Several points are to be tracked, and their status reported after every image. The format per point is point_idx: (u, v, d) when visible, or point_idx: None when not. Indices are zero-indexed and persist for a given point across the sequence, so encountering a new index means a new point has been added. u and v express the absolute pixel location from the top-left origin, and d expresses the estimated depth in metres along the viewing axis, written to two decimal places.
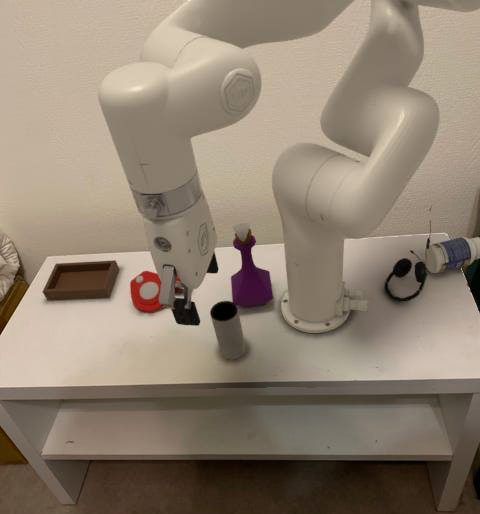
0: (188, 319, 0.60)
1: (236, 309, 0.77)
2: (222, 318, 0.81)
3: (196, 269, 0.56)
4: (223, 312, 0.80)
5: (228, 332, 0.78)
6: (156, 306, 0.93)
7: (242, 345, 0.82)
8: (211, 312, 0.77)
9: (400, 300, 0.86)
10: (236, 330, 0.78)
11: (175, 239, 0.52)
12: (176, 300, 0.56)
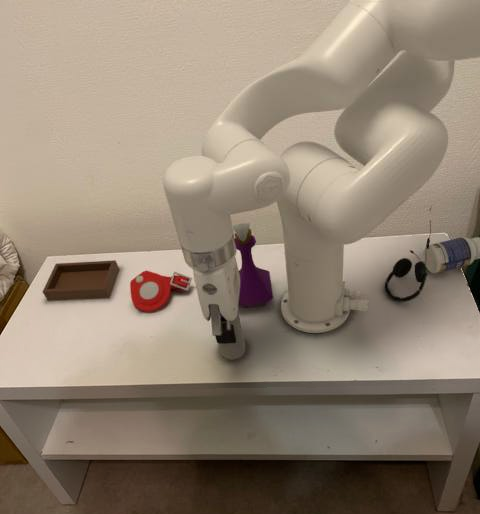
0: (228, 338, 0.77)
1: None
2: (222, 318, 0.81)
3: (233, 305, 0.70)
4: None
5: None
6: (156, 306, 0.93)
7: (242, 345, 0.82)
8: None
9: (400, 300, 0.86)
10: (236, 330, 0.78)
11: (220, 285, 0.66)
12: (223, 325, 0.73)
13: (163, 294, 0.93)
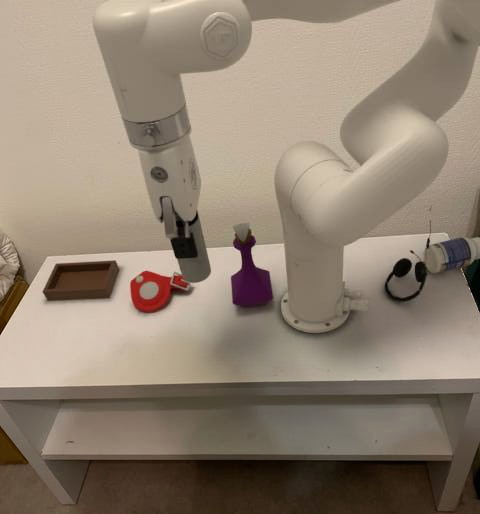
0: (188, 250, 0.65)
1: (196, 216, 0.66)
2: None
3: (190, 200, 0.59)
4: None
5: None
6: (156, 306, 0.93)
7: (206, 264, 0.71)
8: None
9: (400, 300, 0.86)
10: (197, 242, 0.67)
11: (171, 168, 0.55)
12: (179, 227, 0.61)
13: (163, 294, 0.93)
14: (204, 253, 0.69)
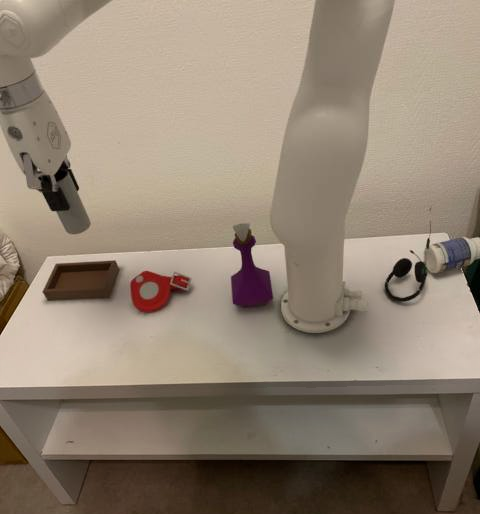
0: (58, 203, 0.77)
1: (66, 173, 0.77)
2: None
3: (48, 157, 0.70)
4: None
5: None
6: (156, 306, 0.93)
7: (82, 218, 0.82)
8: (42, 177, 0.77)
9: (400, 300, 0.86)
10: (69, 197, 0.78)
11: (24, 127, 0.66)
12: (43, 181, 0.72)
13: (163, 294, 0.93)
14: (78, 207, 0.81)
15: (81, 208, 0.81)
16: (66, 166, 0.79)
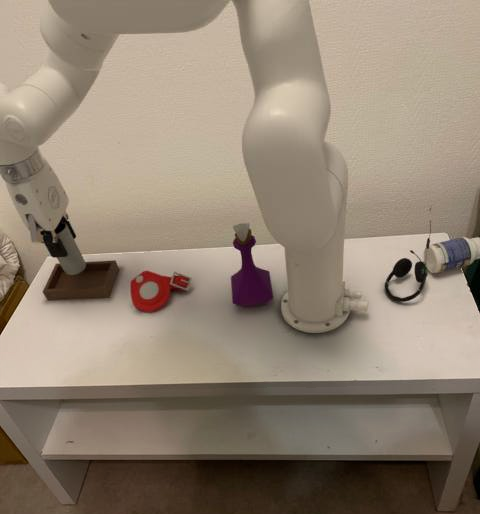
0: (57, 251, 0.90)
1: (64, 226, 0.91)
2: None
3: (49, 216, 0.84)
4: (59, 231, 0.94)
5: None
6: (156, 306, 0.93)
7: (79, 261, 0.96)
8: None
9: (400, 300, 0.86)
10: (67, 245, 0.92)
11: (28, 195, 0.80)
12: (44, 235, 0.86)
13: (163, 294, 0.93)
14: (75, 253, 0.94)
15: (77, 253, 0.95)
16: (65, 219, 0.92)
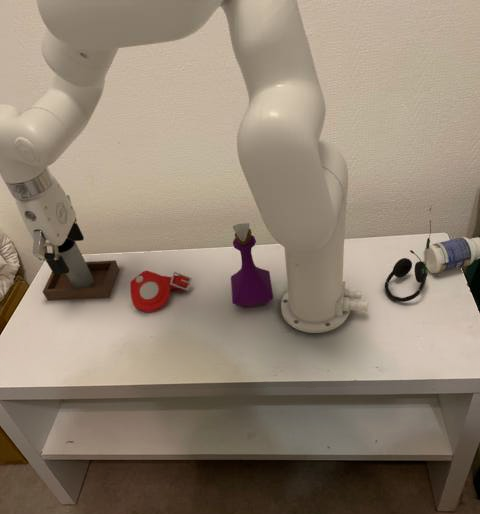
0: (59, 268, 0.91)
1: (73, 243, 0.94)
2: None
3: (57, 232, 0.86)
4: (68, 248, 0.97)
5: (68, 263, 0.94)
6: (156, 306, 0.93)
7: (87, 277, 0.99)
8: None
9: (400, 300, 0.86)
10: (76, 262, 0.95)
11: (37, 212, 0.82)
12: (46, 253, 0.86)
13: (163, 294, 0.93)
14: (83, 269, 0.97)
15: (85, 269, 0.98)
16: None
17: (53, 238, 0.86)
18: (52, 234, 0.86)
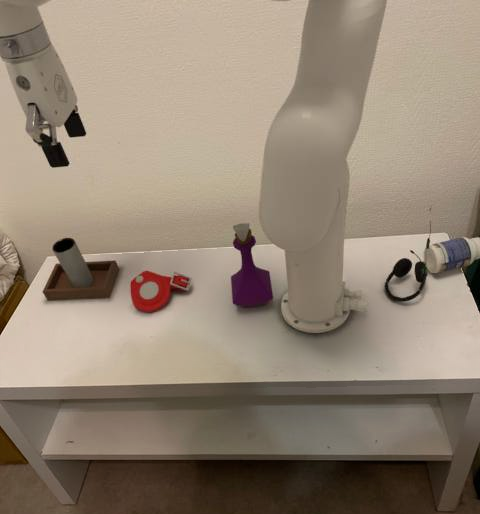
0: (57, 158, 0.77)
1: (73, 243, 0.94)
2: None
3: (55, 108, 0.73)
4: (68, 248, 0.97)
5: (68, 263, 0.94)
6: (156, 306, 0.93)
7: (87, 277, 0.99)
8: (53, 246, 0.94)
9: (400, 300, 0.86)
10: (75, 262, 0.95)
11: (31, 77, 0.68)
12: (42, 133, 0.72)
13: (163, 294, 0.93)
14: (83, 269, 0.97)
15: (85, 269, 0.98)
16: (74, 110, 0.82)
17: (50, 115, 0.72)
18: (49, 110, 0.72)
